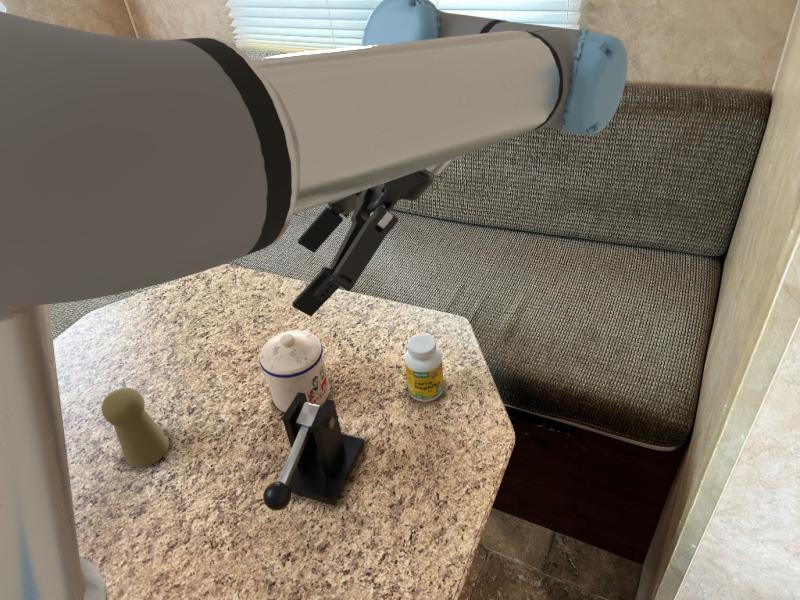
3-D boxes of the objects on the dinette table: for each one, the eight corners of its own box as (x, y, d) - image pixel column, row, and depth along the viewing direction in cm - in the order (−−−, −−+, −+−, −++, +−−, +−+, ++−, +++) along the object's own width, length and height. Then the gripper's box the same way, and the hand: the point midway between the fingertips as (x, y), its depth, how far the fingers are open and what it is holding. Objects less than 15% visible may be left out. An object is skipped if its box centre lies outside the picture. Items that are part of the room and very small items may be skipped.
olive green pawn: (151, 471, 83) (122, 419, 76) (116, 462, 85) (84, 410, 78) (177, 437, 87) (151, 385, 80) (143, 428, 89) (114, 377, 82)
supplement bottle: (438, 373, 93) (435, 326, 87) (448, 398, 89) (445, 351, 83) (404, 380, 92) (399, 334, 86) (412, 406, 88) (407, 360, 82)
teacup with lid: (324, 418, 88) (310, 362, 80) (264, 415, 89) (245, 359, 82) (341, 360, 97) (330, 304, 90) (286, 357, 98) (271, 302, 91)
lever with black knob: (288, 517, 70) (279, 508, 67) (264, 510, 71) (254, 501, 68) (329, 416, 77) (323, 405, 74) (307, 411, 78) (299, 399, 75)
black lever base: (334, 506, 77) (319, 448, 69) (279, 490, 79) (259, 432, 72) (365, 444, 84) (354, 386, 76) (313, 431, 86) (297, 373, 79)
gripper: (454, 231, 60) (326, 356, 70) (425, 130, 80) (328, 238, 89) (397, 189, 57) (271, 326, 66) (381, 94, 76) (285, 210, 86)
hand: (303, 276), depth 78 cm, fingers open, 13 cm apart
